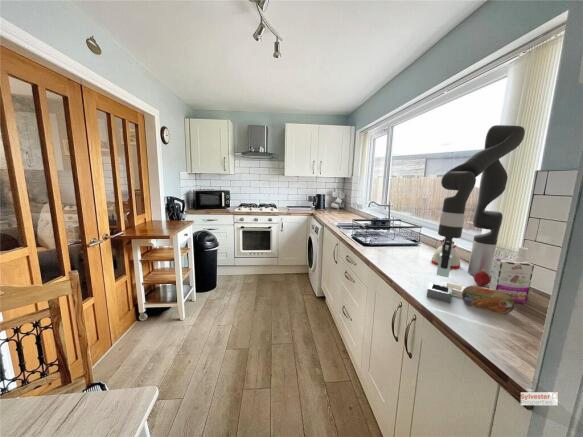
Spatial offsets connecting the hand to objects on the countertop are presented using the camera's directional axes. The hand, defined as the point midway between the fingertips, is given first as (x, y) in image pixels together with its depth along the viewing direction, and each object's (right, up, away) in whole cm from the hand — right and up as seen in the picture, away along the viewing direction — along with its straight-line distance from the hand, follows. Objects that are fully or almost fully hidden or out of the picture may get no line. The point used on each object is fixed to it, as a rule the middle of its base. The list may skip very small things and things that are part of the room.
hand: (444, 266), depth 93 cm
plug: (0, -3, +1) cm, 4 cm away
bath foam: (+38, -13, +11) cm, 42 cm away
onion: (+26, -12, +15) cm, 32 cm away
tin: (+12, -15, -5) cm, 20 cm away
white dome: (+28, -8, +42) cm, 51 cm away
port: (-1, -13, +2) cm, 13 cm away
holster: (+8, -13, +7) cm, 16 cm away
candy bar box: (+28, -14, +4) cm, 31 cm away
